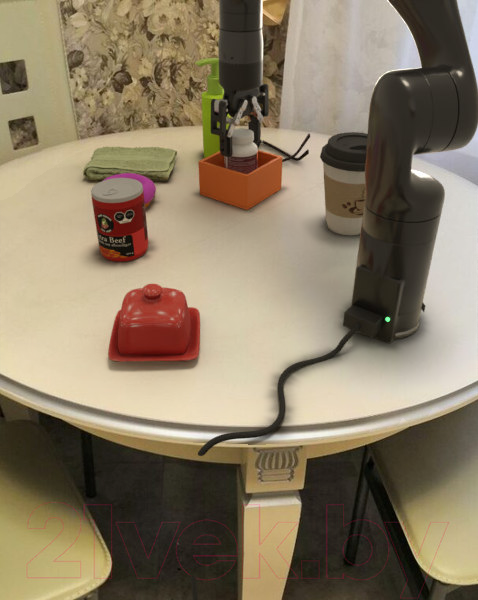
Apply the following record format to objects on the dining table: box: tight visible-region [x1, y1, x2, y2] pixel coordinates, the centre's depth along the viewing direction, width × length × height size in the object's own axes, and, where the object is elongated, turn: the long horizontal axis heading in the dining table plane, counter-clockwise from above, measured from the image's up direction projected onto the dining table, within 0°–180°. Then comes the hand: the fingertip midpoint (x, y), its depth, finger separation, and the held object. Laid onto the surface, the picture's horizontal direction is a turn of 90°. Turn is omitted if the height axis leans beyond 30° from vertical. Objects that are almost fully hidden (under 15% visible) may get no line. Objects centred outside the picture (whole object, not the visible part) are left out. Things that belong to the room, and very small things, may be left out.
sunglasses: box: [255, 129, 311, 163], centre depth 129 cm, size 17×14×5 cm
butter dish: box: [107, 283, 201, 363], centre depth 79 cm, size 12×12×8 cm
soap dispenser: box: [194, 57, 232, 158], centre depth 127 cm, size 6×7×20 cm
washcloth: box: [82, 146, 178, 182], centre depth 126 cm, size 13×18×3 cm
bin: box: [197, 149, 284, 211], centre depth 116 cm, size 11×11×7 cm
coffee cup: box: [319, 131, 368, 236], centre depth 103 cm, size 11×11×15 cm
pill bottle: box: [224, 127, 259, 174], centre depth 115 cm, size 6×6×11 cm
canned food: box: [90, 178, 149, 263], centre depth 97 cm, size 8×8×11 cm
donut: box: [102, 173, 157, 209], centre depth 113 cm, size 10×10×5 cm
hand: (240, 148), depth 113 cm, fingers open, 8 cm apart
